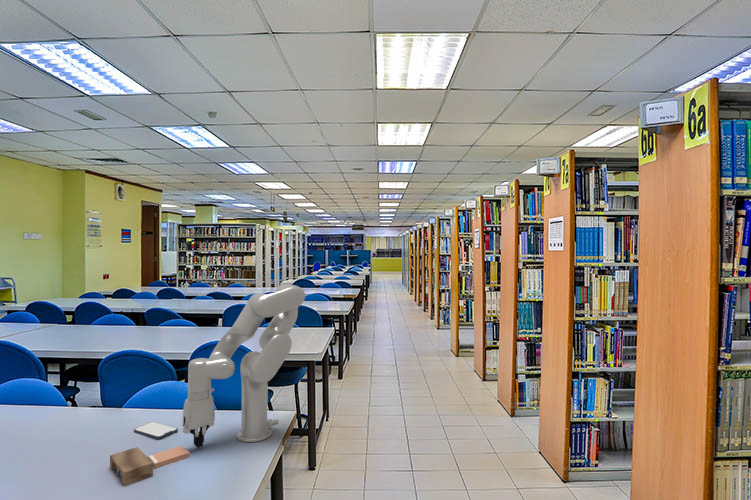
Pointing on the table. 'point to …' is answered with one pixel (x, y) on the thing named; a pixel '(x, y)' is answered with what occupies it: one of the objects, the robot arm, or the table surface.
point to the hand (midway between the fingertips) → (198, 445)
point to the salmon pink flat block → (169, 456)
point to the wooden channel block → (131, 465)
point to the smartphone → (155, 430)
